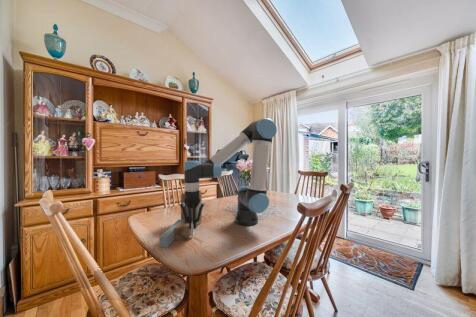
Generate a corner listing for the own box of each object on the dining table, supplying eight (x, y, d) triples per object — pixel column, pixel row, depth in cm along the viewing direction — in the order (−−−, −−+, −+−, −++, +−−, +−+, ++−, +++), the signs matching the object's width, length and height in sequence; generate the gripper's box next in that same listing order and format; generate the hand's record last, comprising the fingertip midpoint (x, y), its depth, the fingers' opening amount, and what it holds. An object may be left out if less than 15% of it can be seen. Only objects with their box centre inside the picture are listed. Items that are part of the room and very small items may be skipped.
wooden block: (195, 227, 119) (195, 194, 119) (180, 226, 121) (180, 193, 121) (202, 222, 129) (202, 191, 128) (187, 220, 131) (187, 190, 130)
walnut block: (191, 234, 109) (191, 223, 109) (187, 240, 102) (187, 228, 102) (179, 234, 110) (179, 223, 110) (174, 239, 103) (174, 228, 103)
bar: (184, 228, 118) (184, 219, 118) (167, 247, 94) (167, 236, 94) (178, 228, 119) (178, 219, 118) (159, 247, 95) (159, 236, 94)
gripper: (205, 188, 108) (206, 232, 109) (182, 189, 109) (183, 231, 110) (202, 191, 101) (203, 238, 101) (177, 191, 102) (178, 237, 102)
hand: (193, 234), depth 106 cm, fingers closed
